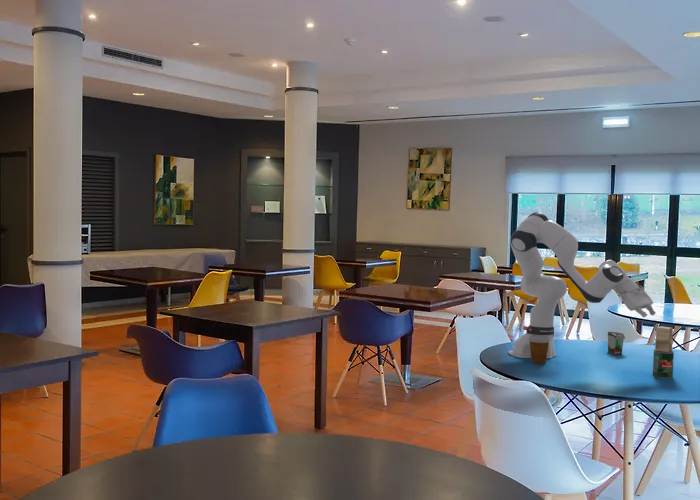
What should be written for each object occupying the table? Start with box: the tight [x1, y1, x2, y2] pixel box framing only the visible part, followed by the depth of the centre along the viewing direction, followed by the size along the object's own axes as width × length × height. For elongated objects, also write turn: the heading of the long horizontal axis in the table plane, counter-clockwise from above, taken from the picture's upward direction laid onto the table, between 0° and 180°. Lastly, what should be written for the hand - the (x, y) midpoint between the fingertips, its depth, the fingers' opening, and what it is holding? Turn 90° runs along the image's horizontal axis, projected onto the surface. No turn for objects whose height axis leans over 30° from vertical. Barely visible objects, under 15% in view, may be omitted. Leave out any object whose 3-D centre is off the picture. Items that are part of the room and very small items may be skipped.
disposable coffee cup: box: [529, 335, 550, 365], centre depth 318 cm, size 10×10×12 cm
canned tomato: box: [652, 349, 675, 380], centre depth 295 cm, size 8×8×11 cm
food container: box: [607, 331, 626, 356], centre depth 345 cm, size 12×6×10 cm, turn 179°
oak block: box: [654, 325, 674, 352], centre depth 295 cm, size 5×5×10 cm
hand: (649, 315), depth 300 cm, fingers open, 8 cm apart
